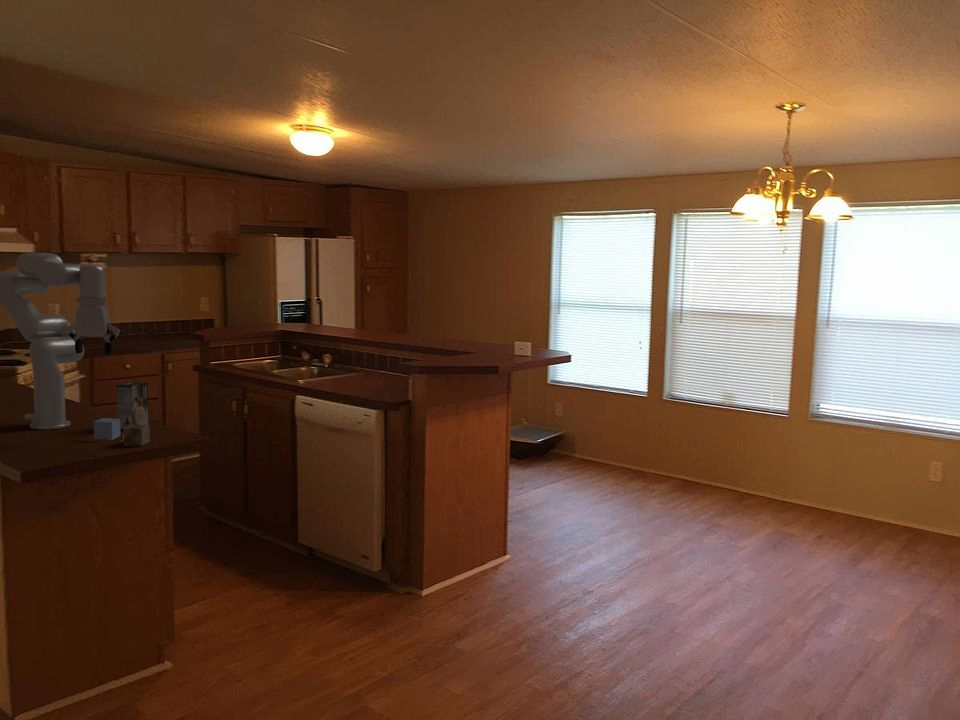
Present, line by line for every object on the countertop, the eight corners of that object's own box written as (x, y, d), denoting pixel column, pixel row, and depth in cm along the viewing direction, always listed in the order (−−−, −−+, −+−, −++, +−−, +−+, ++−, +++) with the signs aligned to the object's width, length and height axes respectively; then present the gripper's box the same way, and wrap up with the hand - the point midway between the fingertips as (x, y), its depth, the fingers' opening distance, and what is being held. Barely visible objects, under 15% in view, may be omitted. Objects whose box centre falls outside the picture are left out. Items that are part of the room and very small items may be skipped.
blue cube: (94, 439, 255) (93, 421, 254) (102, 435, 261) (102, 418, 260) (112, 440, 255) (111, 422, 254) (120, 436, 261) (120, 418, 260)
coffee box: (133, 424, 280) (132, 381, 278) (149, 425, 279) (148, 382, 277) (116, 429, 271) (115, 384, 269) (132, 430, 270) (132, 385, 268)
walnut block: (123, 446, 248) (123, 428, 248) (131, 442, 254) (131, 424, 254) (142, 447, 248) (141, 428, 248) (149, 442, 254) (149, 425, 254)
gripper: (60, 302, 251) (62, 353, 253) (113, 304, 251) (114, 355, 253) (72, 301, 258) (73, 351, 260) (123, 303, 258) (124, 353, 260)
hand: (93, 353), depth 257 cm, fingers open, 9 cm apart
